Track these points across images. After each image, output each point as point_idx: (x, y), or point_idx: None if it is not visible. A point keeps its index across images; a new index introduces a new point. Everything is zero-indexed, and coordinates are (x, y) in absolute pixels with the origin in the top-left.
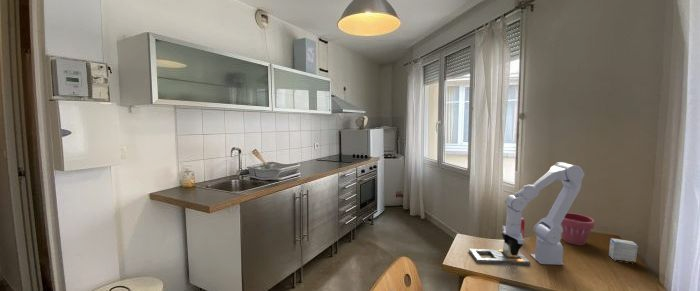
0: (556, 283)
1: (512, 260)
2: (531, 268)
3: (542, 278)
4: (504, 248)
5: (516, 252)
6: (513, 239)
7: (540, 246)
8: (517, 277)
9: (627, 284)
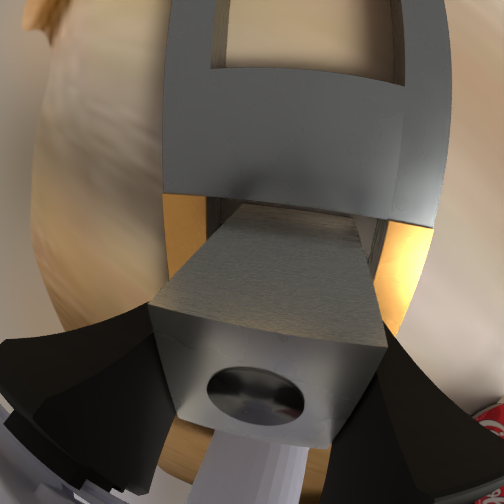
0: (63, 315)
1: (170, 230)
2: None
3: (74, 290)
4: (320, 261)
5: None
6: (89, 465)
7: (218, 488)
8: (47, 158)
9: None
